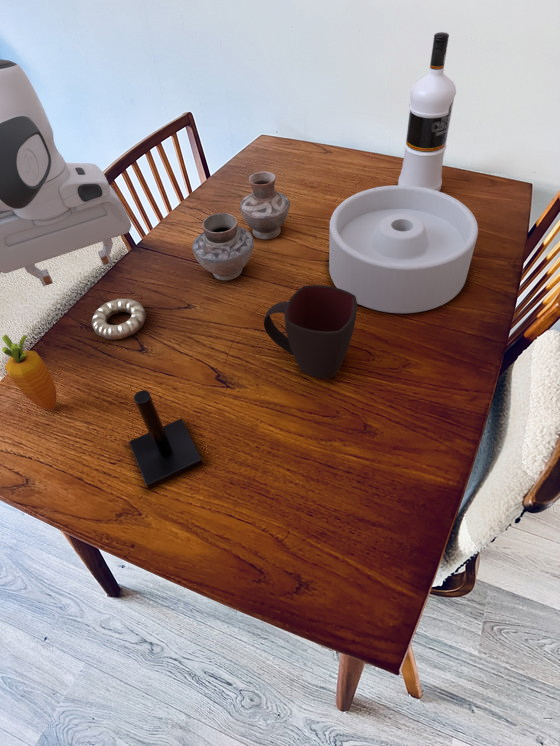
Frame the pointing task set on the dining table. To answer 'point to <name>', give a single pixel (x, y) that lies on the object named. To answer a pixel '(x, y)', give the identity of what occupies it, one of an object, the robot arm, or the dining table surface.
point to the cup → (316, 328)
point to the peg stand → (162, 445)
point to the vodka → (429, 122)
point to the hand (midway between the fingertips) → (77, 272)
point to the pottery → (241, 229)
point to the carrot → (30, 374)
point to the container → (401, 247)
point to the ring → (122, 329)
